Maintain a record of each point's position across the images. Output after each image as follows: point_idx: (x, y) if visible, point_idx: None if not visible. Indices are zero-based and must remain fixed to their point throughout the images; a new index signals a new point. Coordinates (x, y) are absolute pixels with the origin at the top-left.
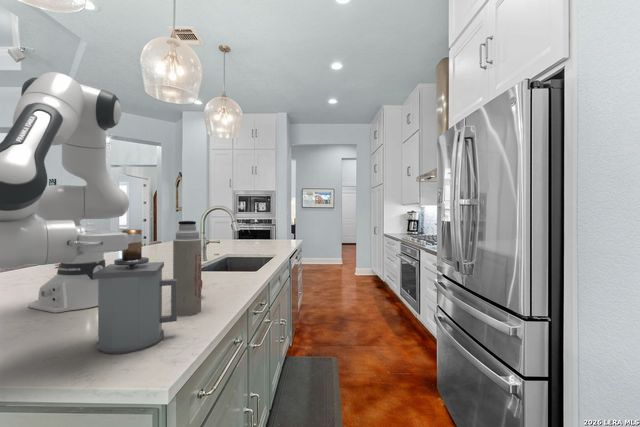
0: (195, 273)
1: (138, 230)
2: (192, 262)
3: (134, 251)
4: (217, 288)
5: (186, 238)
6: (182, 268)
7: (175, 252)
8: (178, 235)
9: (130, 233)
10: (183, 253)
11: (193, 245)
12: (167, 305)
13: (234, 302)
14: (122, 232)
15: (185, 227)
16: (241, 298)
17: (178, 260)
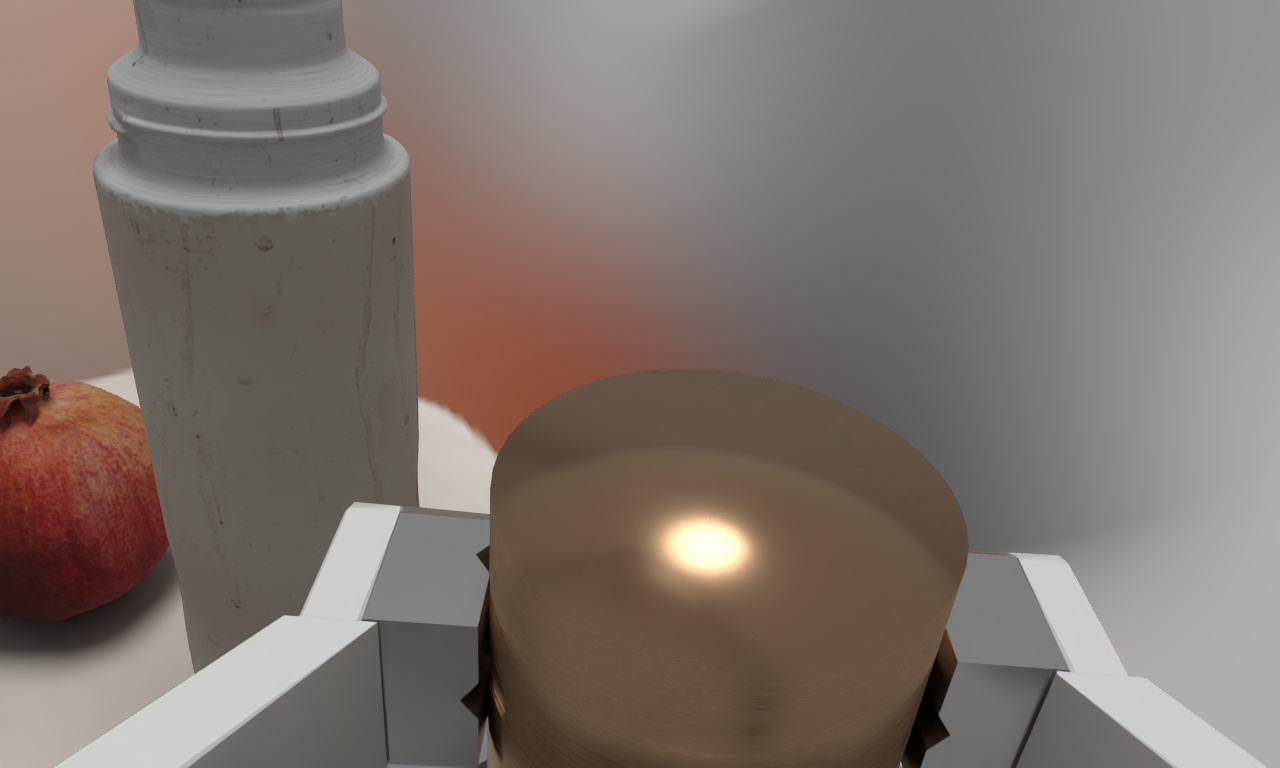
0: (417, 458)
1: (919, 458)
2: (408, 384)
3: None
4: (101, 388)
5: (342, 163)
6: (351, 472)
7: (240, 342)
8: (246, 141)
9: (937, 638)
10: (349, 334)
11: (407, 223)
12: (13, 726)
13: (455, 486)
14: (735, 715)
15: (294, 24)
16: (428, 434)
17: (300, 414)
